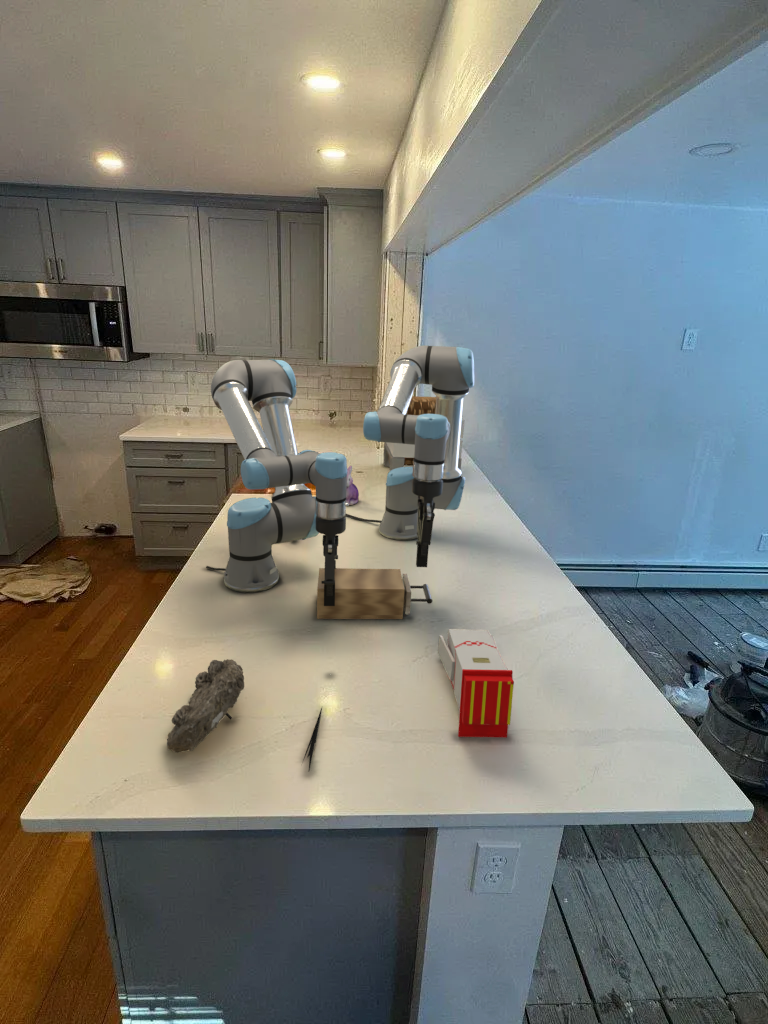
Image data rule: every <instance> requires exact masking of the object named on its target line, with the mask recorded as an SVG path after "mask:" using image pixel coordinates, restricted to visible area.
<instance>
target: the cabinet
mask: <svg viewBox="0 0 768 1024" xmlns="http://www.w3.org/2000/svg"><path fill="white" fill-rule="evenodd" d="M402 578H403V574H402V571H401V568H345V567H344V568H343V567H342V568H341V567H340V568H338V567H337V568H335V606H324V584H322V581H324V580H325V567H319V568H318V578H317V589H316V591H317V592H316V593H317V594H316V619H317V620H324V619H325V620H403V618H404V585H403V580H402Z"/></svg>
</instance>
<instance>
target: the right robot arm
mask: <svg viewBox="0 0 768 1024" xmlns="http://www.w3.org/2000/svg"><path fill="white" fill-rule="evenodd" d="M474 360H475V359H474V352H473V350H472V349H471V348H467V347H460V346H448V345H447V346H445V345H444V346H443V345H418V346H415V347H412V348H410V349H408V350H406V351H404V352H403V353H402V354H401V355H400V356H398V357H397V358H396V359H395V360H394V362H393V364H392V366H391V368H390V373H389V375H390V380H389V382H388V385H387V387H386V390H385V392H384V394H383V397H382V400H381V401H380V404H379V407H378V409H377V411H368V412H366V414H365V415H364V418H363V423H362V424H363V426H362V430H363V431H362V432H363V437H364V439H365V440H367V441H371V442H377V443H384V442H388V443H402V444H412V445H415V451H414V460H413V466H404V467H400V468H396V469H393V470H391V471H390V470H389V472H388V473H387V475H386V482H385V504H384V505H385V507H384V508H385V509H384V513H383V515H382V519H381V520H379V519H369V518H362V517H359V516H358V517H357V516H356V515H355V516H354V515H352V514H349V513H346V514H345V517H348V518H351V519H354V520H357V521H362V522H366V523H377V524H378V523H379V526H378V533H379V534H380V535H381V536H382V537H385V538H387V539H389V540H395V541H410V540H415V539H417V540H416V541H415V545H416V558H415V559H416V560H415V567H416V568H428V559H429V547H430V546H431V544H432V536H433V535H432V534H433V527H434V520H435V516H436V514H435V512H434V511H435V509H436V510H444V511H456V510H458V509H459V508H460V505H461V501H462V498H463V493H464V487H465V484H466V477H465V476H462V475H463V474H462V469H461V470H460V469H459V468H458V456H459V444H460V439H461V438H460V432H461V420H462V419H463V408H464V407H463V406H464V398H465V397H466V396H467V395H468V394H469V392H470V389H471V388H473V387H474V386H475V361H474ZM419 385H431V392H432V393H433V394H434V395H435V397H436V408H435V414H421V415H406V413H407V410H408V407H409V404H410V401H411V398H412V396H413V395H414V391H415V389H416V388H417V387H418V386H419ZM274 493H275V492H272V493H271V494H272V496H273V494H274Z"/></svg>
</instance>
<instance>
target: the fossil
mask: <svg viewBox="0 0 768 1024" xmlns="http://www.w3.org/2000/svg"><path fill="white" fill-rule="evenodd" d="M243 670H244V669H243V667H242V665H240V664H237V662H236V661H235V660H234V659H232V658H231V659H227V658H226V659H224V660H223V661H222V660H217V659H212V660H211V661H210V663H209V665H208V666H207V671H201V672H199V673H198V674H197V675H196V676H195V680H194V684H195V685H194V687H195V689H194V690H193V693H192V694H191V697H190V698H189V700H188V704H184V705H182V706H181V707H180V709H177V710H176V711H175V713H174V715H173V716H172V718H171V723H172V724H173V727H172V730H171V731H170V732H168V734H167V738H166V741H167V742H166V745H167V749H168V750H169V751H173V752H174V753H176V754H178V753H182V752H188V751H189V752H192V751H193V750H195V748H196V747H197V746H199V744H200V743H201V742H203V741H204V740H205V739H206V738H207V737H208V736H209V735H210V734H211V733H212V732H214V730H215V729H217V727H218V726H219V724H220V722H221V721H222V720H223V719H224V718H225V716H226V717H227V719H229V720H233V717H232V715H230V714H229V710H230V709H231V708H234V706H235V704H236V703H237V702H238V699H239V697H240V695H241V693H242V691H243V690H245V689H244V688H245V675H244V671H243Z"/></svg>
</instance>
